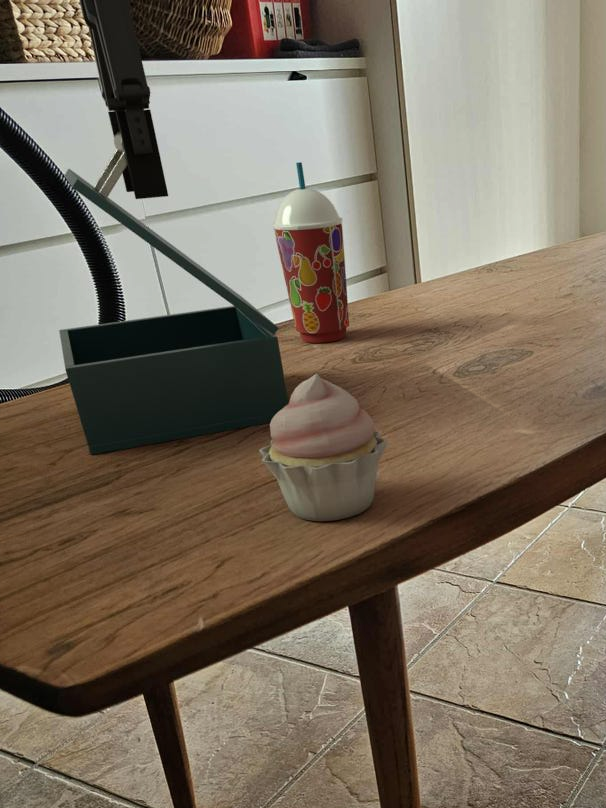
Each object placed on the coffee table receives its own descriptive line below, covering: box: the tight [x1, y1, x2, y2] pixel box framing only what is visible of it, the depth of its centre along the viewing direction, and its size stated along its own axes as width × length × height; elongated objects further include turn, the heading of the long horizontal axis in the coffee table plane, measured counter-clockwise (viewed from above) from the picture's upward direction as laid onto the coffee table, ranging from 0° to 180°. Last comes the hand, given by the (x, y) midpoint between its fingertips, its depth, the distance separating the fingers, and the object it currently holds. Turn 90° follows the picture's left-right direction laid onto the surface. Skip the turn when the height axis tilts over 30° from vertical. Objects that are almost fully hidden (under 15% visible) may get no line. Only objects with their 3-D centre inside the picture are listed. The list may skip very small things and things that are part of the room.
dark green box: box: [59, 305, 290, 456], centre depth 89 cm, size 19×18×8 cm
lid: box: [64, 131, 280, 335], centre depth 84 cm, size 19×18×7 cm
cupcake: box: [258, 373, 388, 522], centre depth 66 cm, size 9×9×10 cm
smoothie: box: [271, 161, 350, 344], centre depth 110 cm, size 8×8×20 cm
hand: (146, 193), depth 81 cm, fingers closed on lid, 8 cm apart
